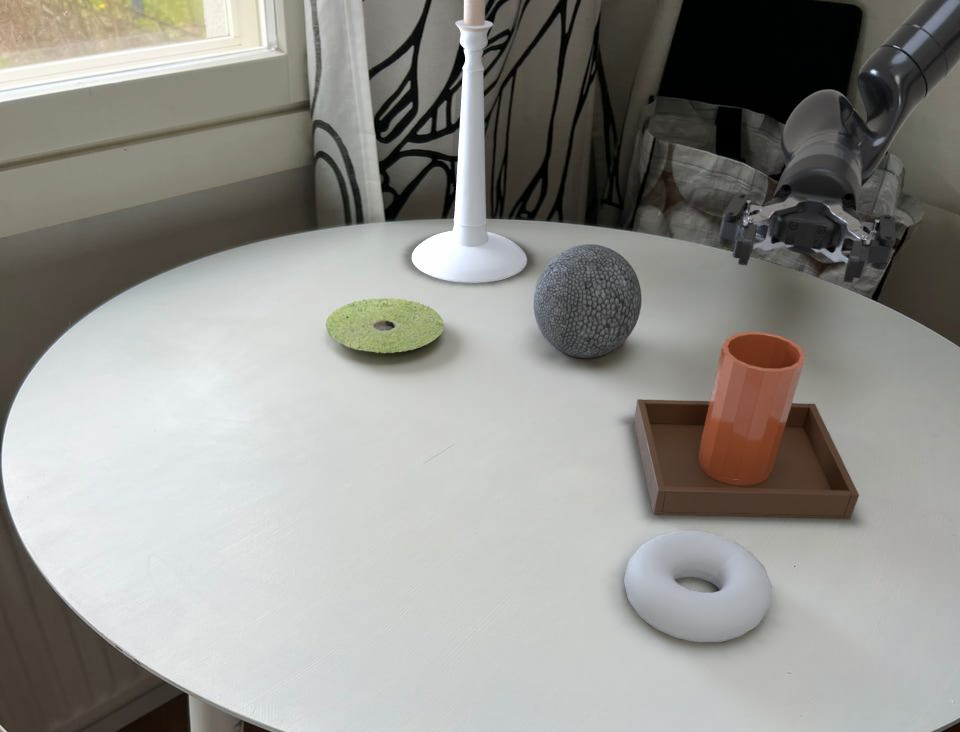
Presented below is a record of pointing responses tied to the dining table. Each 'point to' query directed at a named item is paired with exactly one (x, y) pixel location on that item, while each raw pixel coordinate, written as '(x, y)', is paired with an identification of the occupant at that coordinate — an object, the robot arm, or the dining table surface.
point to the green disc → (384, 325)
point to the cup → (749, 407)
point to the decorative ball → (587, 301)
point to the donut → (692, 610)
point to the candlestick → (471, 182)
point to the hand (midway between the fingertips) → (797, 262)
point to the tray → (785, 494)
